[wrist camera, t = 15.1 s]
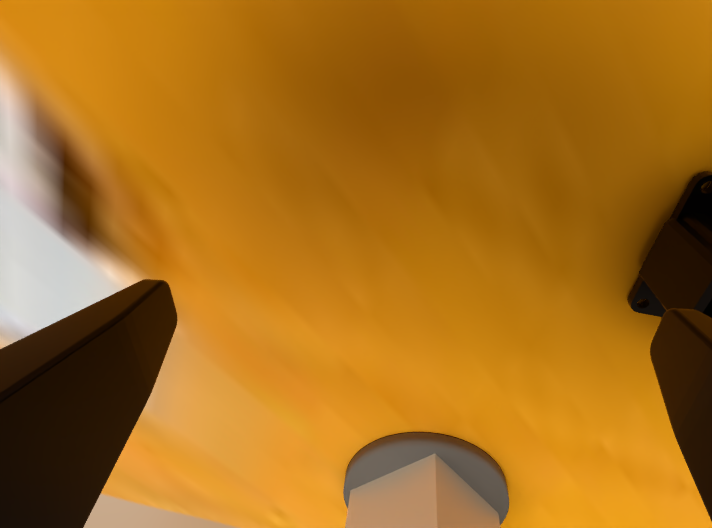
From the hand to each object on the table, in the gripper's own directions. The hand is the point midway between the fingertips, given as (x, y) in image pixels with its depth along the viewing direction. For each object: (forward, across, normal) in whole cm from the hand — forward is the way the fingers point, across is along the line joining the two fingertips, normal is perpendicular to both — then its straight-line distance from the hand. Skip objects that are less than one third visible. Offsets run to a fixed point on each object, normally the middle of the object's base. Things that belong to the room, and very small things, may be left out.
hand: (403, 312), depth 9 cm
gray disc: (+11, -2, +23) cm, 25 cm away
